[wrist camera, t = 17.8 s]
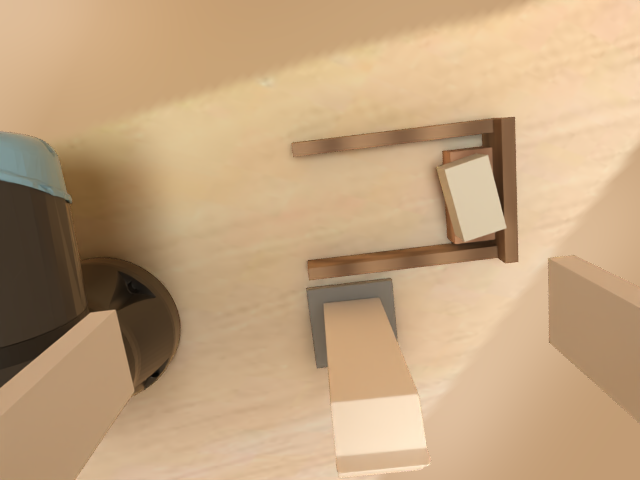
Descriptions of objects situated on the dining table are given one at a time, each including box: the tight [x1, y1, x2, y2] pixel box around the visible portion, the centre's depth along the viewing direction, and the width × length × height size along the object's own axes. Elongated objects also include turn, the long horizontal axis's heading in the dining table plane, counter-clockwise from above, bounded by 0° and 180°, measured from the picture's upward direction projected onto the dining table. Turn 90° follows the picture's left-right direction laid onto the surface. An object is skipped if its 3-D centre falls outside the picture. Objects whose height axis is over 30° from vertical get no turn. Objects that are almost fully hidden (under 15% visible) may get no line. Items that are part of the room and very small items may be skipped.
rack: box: [292, 117, 518, 280], centre depth 46 cm, size 20×13×5 cm
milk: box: [323, 298, 431, 478], centre depth 40 cm, size 6×6×22 cm
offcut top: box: [436, 153, 506, 242], centre depth 45 cm, size 4×7×3 cm, turn 19°
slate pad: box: [307, 278, 398, 368], centre depth 51 cm, size 9×9×1 cm
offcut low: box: [442, 146, 495, 244], centre depth 47 cm, size 4×9×3 cm, turn 7°
